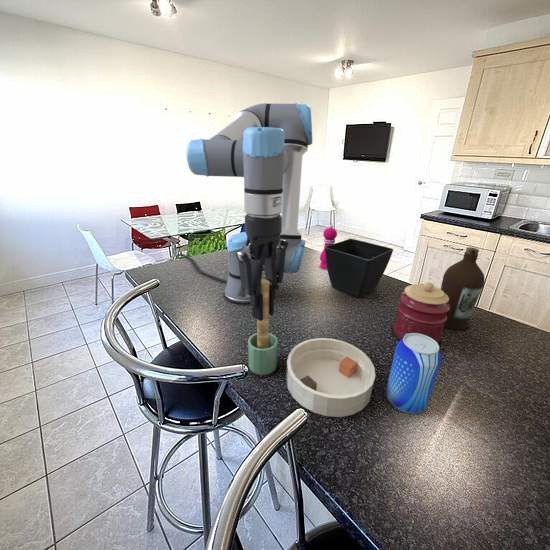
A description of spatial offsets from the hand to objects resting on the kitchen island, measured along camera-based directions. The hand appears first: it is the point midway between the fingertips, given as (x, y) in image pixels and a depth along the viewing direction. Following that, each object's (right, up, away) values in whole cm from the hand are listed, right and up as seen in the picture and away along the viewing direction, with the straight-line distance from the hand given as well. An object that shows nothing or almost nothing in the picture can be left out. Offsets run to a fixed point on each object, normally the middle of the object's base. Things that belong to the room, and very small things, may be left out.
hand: (263, 315), depth 68 cm
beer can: (+32, -19, -3) cm, 37 cm away
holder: (0, -14, +6) cm, 15 cm away
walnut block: (+10, -17, -2) cm, 20 cm away
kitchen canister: (+45, -9, +20) cm, 50 cm away
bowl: (+15, -16, +1) cm, 23 cm away
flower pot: (+34, +4, +49) cm, 60 cm away
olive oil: (+60, -6, +27) cm, 66 cm away
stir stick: (0, -9, +4) cm, 9 cm away
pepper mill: (+27, +13, +68) cm, 74 cm away
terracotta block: (+21, -14, +4) cm, 26 cm away
